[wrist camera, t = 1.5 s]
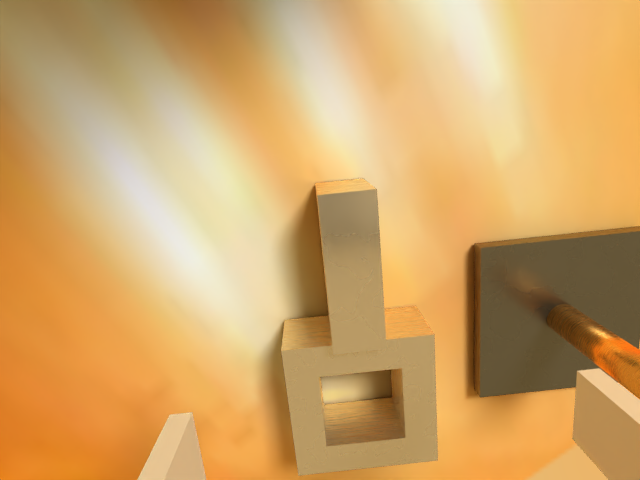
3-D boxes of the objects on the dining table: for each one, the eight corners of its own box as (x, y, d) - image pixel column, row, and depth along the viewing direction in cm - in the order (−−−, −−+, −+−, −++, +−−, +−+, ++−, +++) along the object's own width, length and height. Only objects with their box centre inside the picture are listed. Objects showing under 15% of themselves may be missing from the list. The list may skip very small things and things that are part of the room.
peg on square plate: (474, 243, 26) (565, 302, 17) (640, 226, 26) (820, 275, 17) (474, 388, 29) (552, 506, 20) (623, 372, 29) (770, 482, 20)
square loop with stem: (267, 188, 25) (257, 201, 20) (410, 173, 25) (436, 182, 20) (299, 430, 29) (298, 489, 25) (420, 417, 30) (442, 473, 25)
